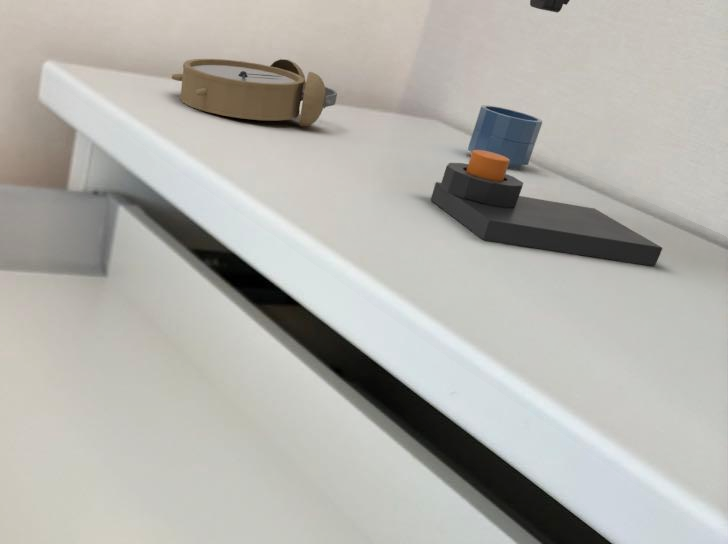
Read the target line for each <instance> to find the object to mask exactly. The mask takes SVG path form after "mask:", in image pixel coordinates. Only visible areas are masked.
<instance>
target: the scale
mask: <svg viewBox="0 0 728 544" xmlns="http://www.w3.org/2000/svg"><path fill="white" fill-rule="evenodd" d="M468 164H469V163H464V162H448V164H447V165H446V166H445V170H444V173H443V176H442V179H441V182H439V181H436V182H435V183H434V187H433V191H432V193H431V197H430V201H431V202H433V203H434V204H435V205H436V206H438V207H439V208H440V209H441V210H443V211H444V212H446V213H447V214H448V215H449V216H451V217H452V218H454V219H455V220H456V221H458V222H459V223H460V224H462V225H463V226H465V227H466V228H467V229H468V230H470V232H472V233H474V234H475V235H476V236H478V237H479V238H481V239H482V240H483V241H489V242H495V243H502V244H508V245H513V246H514V245H515V246H519V247H520V246H521V247H527V248H534V249H539V250H540V249H541V250H546V251H553V252H560V253H566V254H573V255H579V256H586V257H592V258H598V259H599V258H600V259H605V260H610V261H616V262H617V261H618V262H625V263H631V264H637V265H644V266H649V267H656V265H657V263H658V260H659V258H660V256H661V253H662V251H663V247H662V246H660V244H657V243H655V242H653V241H652V240H650V239H649V238H647V237H645V236H643V235H641V234H639V233H638V232H636V231H634V230H633V229H630V228H629V227H628V226H626V225H624V224H622V223H621V222H619V221H617V220H616V219H614V218H612V217H610V216H608V215H607V214H605V213H604V212H602V211H600V210H598V209H597V208H595V207H594V208H593V207H589V206H583V205H582V206H581V205H575V204H571V203H566V202H565V203H563V202H558V201H553V200H552V201H551V200H546V199H541V198H540V199H539V198H535V197H529V196H523V195H521V191H522V189H523V186H524V182H523V181H522V180H520V179H518V178H516V177H515V176H513V175H509V174H507V173H506V174H505V177H504V180H503V181H498V180H492V179H487V178H483V177H479V176H476V175H474V174H471V173H468V172H466V170H467V167H468Z"/></svg>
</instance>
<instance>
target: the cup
mask: <svg viewBox="0 0 728 544" xmlns="http://www.w3.org/2000/svg"><path fill="white" fill-rule="evenodd" d="M542 125H543V120H542V119H540V118H538V117H536V116H534V115H530V114H529V113H524V112H521V111H517V110H514V109H510V108H505V107H501V106H495V105H487V104H485V105H483V104H482V105H480V109H479V112H478V115H477V119H476V121H475V125H474V127H473V131H472V134H471V137H470V140H469V144H468V147H467V150H468V151H469V152H470V153H469V156H470V157H471V154H472V151H473V150H483V151H488V152H492V153H496V154H499V155H502V156H505V157H507V158H508V159H509V160H510V162H509V165H508V168H507V169H510V170H521V169H523V167H524V166H527V165H529V162H530V160H531V157H532V154H533V151H534V148H535V144H536V142H537V139H538V136H539V134H540V130H541V128H542Z"/></svg>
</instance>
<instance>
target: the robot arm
mask: <svg viewBox="0 0 728 544" xmlns="http://www.w3.org/2000/svg"><path fill="white" fill-rule="evenodd" d="M570 1H571V0H529V5H530V7H531V8H535V9H538V10H543V11H547V12H553V13H557V14H558V13H560V11H562V9H563V6H564V5H566V6H567V5H568V4H569V2H570Z"/></svg>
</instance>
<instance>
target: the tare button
mask: <svg viewBox="0 0 728 544" xmlns="http://www.w3.org/2000/svg"><path fill="white" fill-rule="evenodd" d="M509 162H510V160H509V159H508V158H507V157H505V156H502V155H499V154H496V153H492V152H488V151H483V150H473V151H472V154H471V156H470V158H469V161H468V163H467V164H468V167H467V170H466V172H468V173H471V174H474V175H476V176H479V177H483V178H487V179H492V180H498V181H503V180H504V177H505V174H507V170H508V169H509V168H508V165H509Z"/></svg>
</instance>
